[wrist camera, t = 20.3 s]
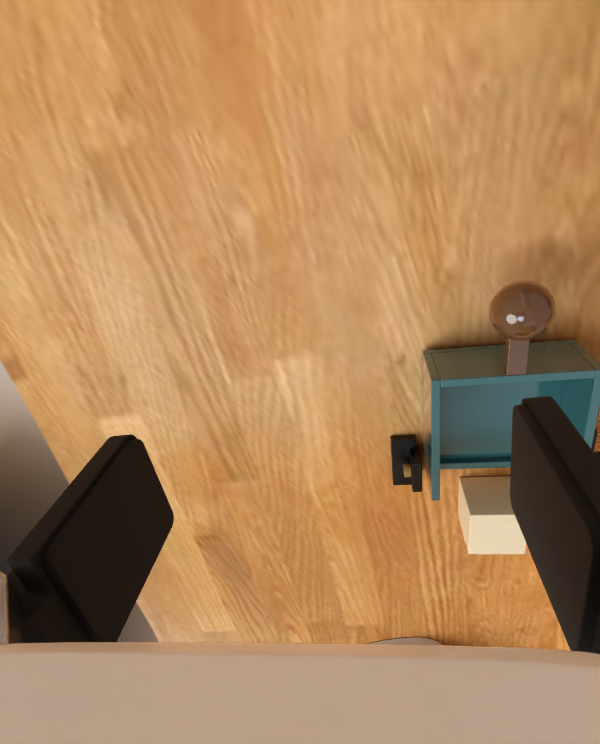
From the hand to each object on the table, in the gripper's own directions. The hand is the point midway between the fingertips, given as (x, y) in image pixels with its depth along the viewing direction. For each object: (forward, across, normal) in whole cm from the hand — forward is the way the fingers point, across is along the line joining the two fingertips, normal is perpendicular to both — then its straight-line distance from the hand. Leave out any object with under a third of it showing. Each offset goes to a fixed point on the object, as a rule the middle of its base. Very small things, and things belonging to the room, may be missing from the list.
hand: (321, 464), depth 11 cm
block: (+20, -9, +23) cm, 32 cm away
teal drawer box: (+22, -10, +10) cm, 27 cm away
